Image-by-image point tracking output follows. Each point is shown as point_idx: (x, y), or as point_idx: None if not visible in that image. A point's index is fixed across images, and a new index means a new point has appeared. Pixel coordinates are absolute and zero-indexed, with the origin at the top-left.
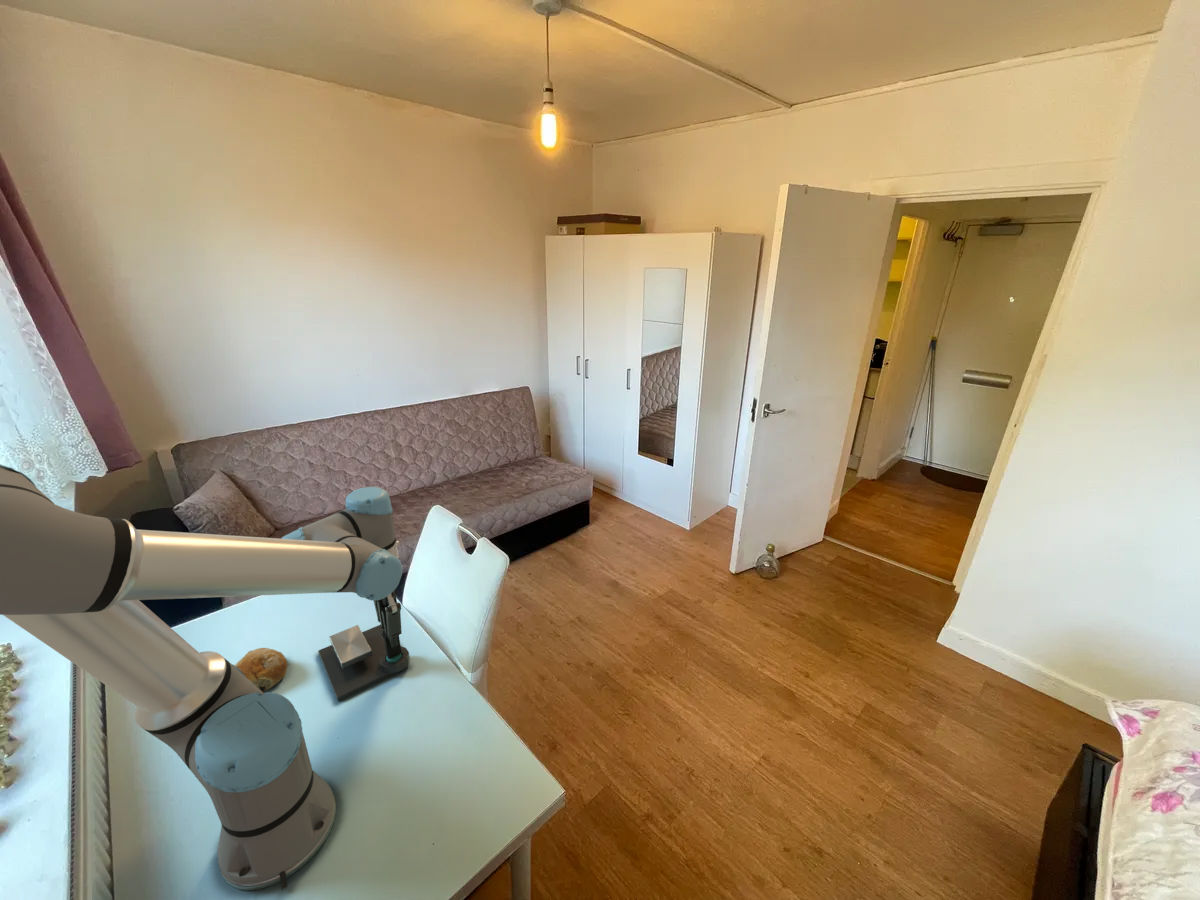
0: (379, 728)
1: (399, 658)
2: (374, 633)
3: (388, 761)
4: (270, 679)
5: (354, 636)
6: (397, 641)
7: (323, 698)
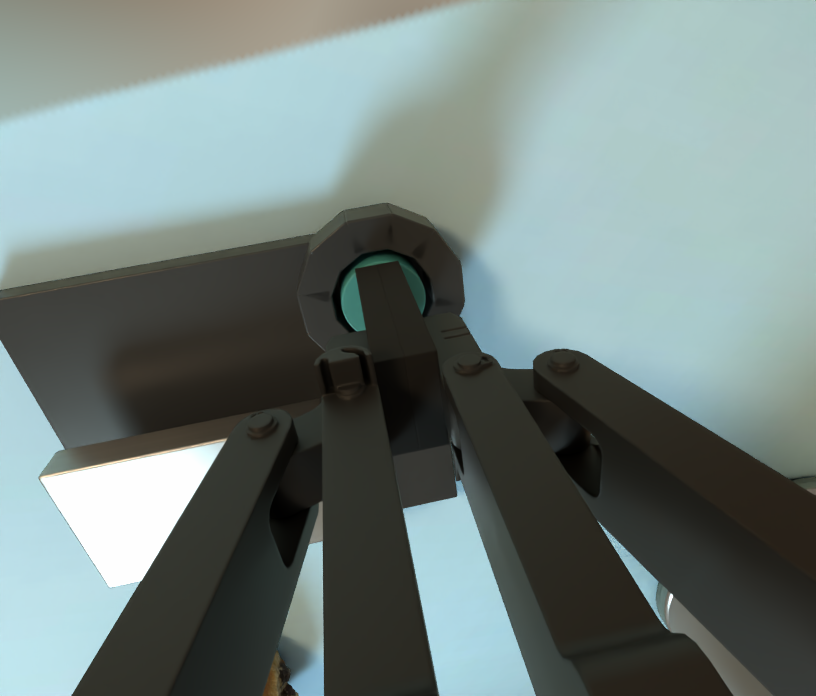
0: (661, 365)
1: (415, 272)
2: (75, 355)
3: (800, 350)
4: (274, 684)
5: (156, 492)
6: (468, 331)
7: (405, 519)
